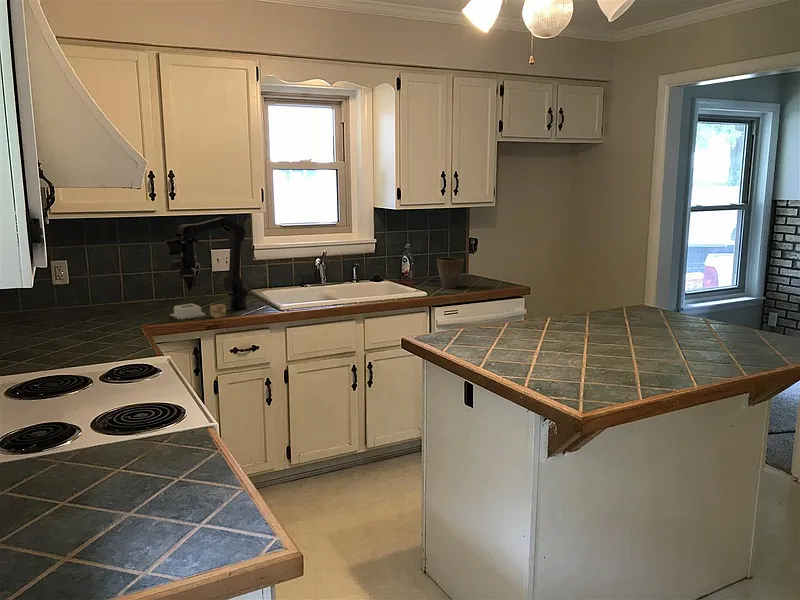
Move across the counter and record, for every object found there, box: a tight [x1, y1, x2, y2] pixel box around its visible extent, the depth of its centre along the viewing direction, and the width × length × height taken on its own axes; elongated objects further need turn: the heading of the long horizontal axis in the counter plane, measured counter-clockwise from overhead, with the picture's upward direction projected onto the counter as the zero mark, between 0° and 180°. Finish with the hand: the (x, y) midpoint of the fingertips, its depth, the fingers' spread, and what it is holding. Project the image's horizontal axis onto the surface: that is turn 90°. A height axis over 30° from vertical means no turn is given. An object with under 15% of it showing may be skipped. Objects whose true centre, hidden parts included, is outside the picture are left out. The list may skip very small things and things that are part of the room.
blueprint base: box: [170, 303, 206, 320], centre depth 289 cm, size 12×10×5 cm
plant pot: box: [436, 256, 465, 289], centre depth 354 cm, size 15×15×16 cm
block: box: [209, 303, 227, 319], centre depth 288 cm, size 5×5×5 cm
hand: (191, 288), depth 284 cm, fingers open, 9 cm apart
